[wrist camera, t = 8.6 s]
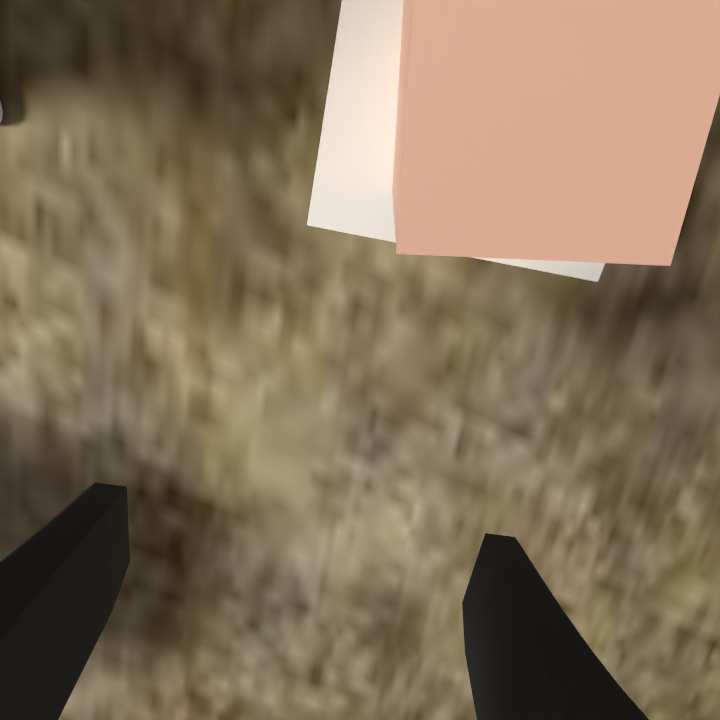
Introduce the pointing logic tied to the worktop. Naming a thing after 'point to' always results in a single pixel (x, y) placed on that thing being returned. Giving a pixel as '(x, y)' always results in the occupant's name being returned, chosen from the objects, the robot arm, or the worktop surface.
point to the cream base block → (374, 133)
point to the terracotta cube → (552, 126)
